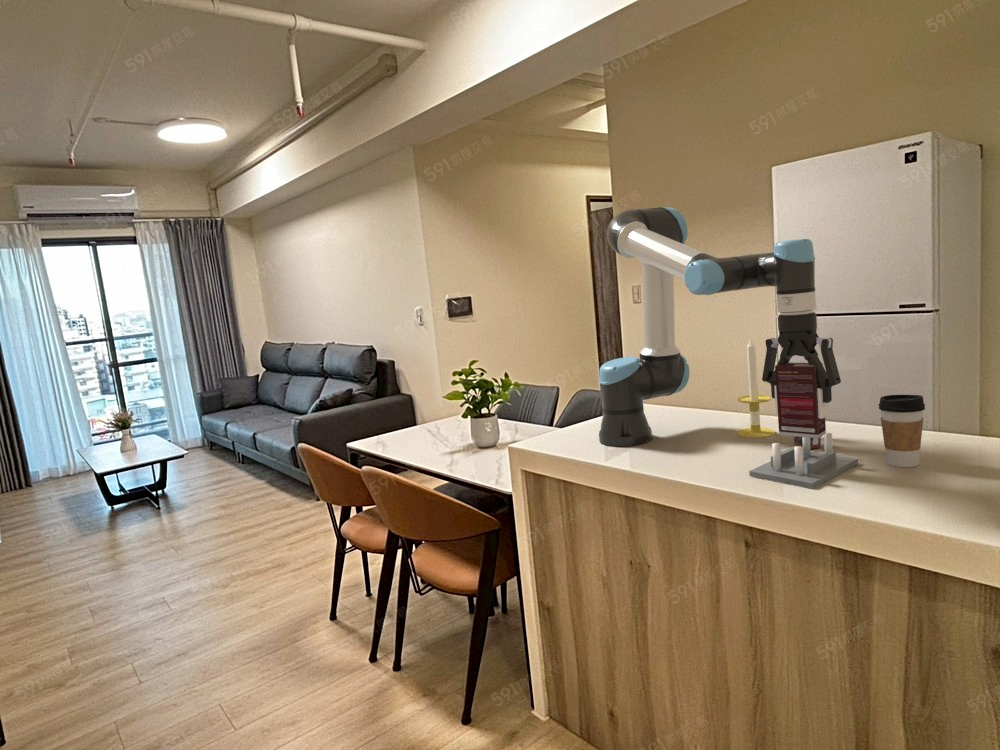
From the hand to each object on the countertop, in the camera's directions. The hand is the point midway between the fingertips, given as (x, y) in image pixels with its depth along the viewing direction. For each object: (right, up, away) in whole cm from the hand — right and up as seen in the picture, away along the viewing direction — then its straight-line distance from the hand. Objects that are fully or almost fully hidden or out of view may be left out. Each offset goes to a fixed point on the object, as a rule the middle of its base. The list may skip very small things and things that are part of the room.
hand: (801, 414), depth 134 cm
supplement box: (0, -5, +1) cm, 5 cm away
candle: (+4, -8, +35) cm, 36 cm away
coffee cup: (+22, -11, -1) cm, 24 cm away
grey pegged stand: (+1, -12, +2) cm, 13 cm away
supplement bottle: (+10, -9, +18) cm, 23 cm away
